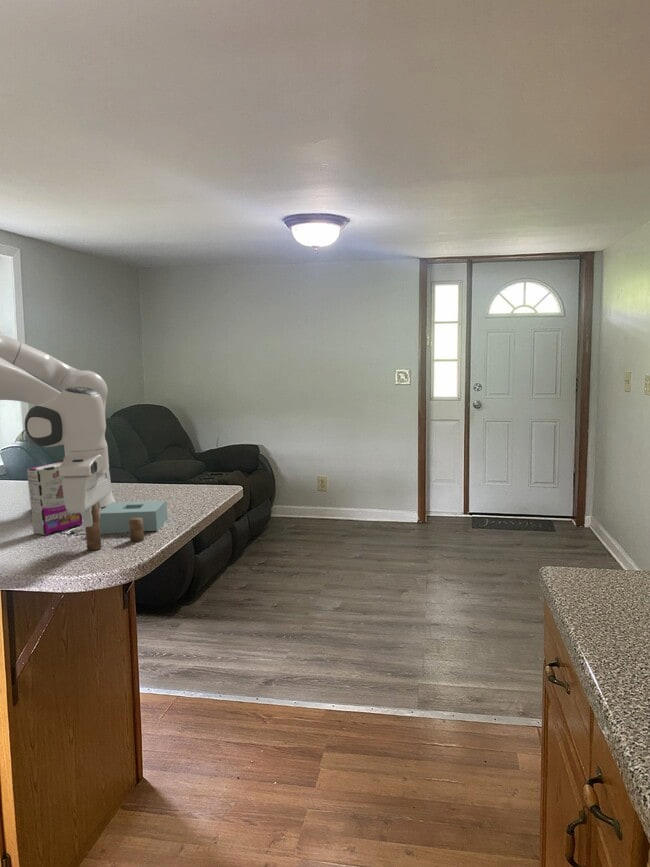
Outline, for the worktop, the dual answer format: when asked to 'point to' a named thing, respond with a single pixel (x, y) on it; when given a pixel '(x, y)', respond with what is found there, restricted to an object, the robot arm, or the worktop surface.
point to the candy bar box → (49, 501)
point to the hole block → (132, 516)
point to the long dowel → (94, 531)
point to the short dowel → (136, 529)
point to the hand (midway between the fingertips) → (92, 523)
